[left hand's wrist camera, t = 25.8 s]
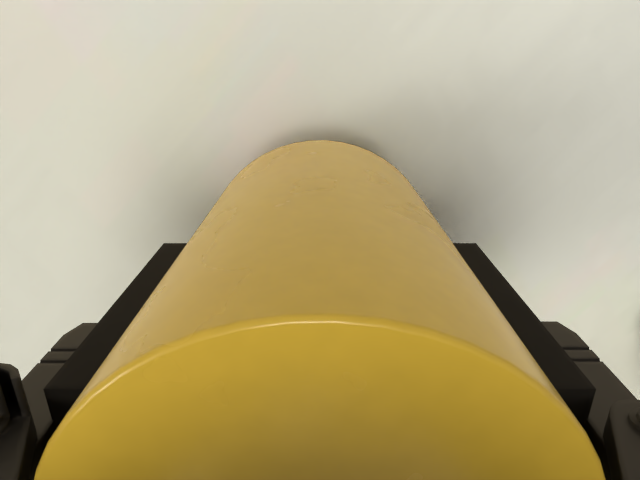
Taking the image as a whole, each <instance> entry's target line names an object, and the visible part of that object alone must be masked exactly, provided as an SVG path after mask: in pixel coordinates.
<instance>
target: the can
mask: <svg viewBox="0 0 640 480" xmlns="http://www.w3.org/2000/svg"><path fill="white" fill-rule="evenodd" d="M34 480H606V479H605V475H604V472H603V468H602V465H601V461H600V459H599V457H598V455H597V453H596V451H595V449H594V447H593V445H592V443H591V441H590V439H589V437H588V435H587V433H586V431H585V430H584V428H583V427H582V426H581V424H580V423H579V421H578V420H577V419H576V417H575V416H574V414H573V413H572V412H571V410H570V409H569V407H568V406H567V404H566V403H565V402H564V400H563V399H562V397H561V396H560V395H559V393H558V392H557V390H556V389H555V387H554V386H553V385H552V383H551V382H550V380H549V379H548V378H547V376H546V375H545V373H544V372H543V371H542V369H541V368H540V366H539V365H538V363H537V362H536V361H535V359H534V358H533V356H532V355H531V354H530V352H529V351H528V349H527V348H526V346H525V345H524V344H523V342H522V341H521V339H520V338H519V337H518V335H517V334H516V332H515V331H514V329H513V328H512V327H511V325H510V324H509V322H508V321H507V320H506V318H505V317H504V315H503V314H502V313H501V311H500V310H499V308H498V307H497V305H496V304H495V303H494V301H493V300H492V298H491V297H490V296H489V294H488V293H487V291H486V290H485V288H484V287H483V286H482V284H481V283H480V281H479V280H478V279H477V277H476V276H475V274H474V273H473V272H472V270H471V269H470V267H469V266H468V264H467V263H466V262H465V260H464V259H463V257H462V256H461V255H460V253H459V252H458V250H457V249H456V247H455V246H454V245H453V243H452V242H451V240H450V239H449V238H448V236H447V235H446V233H445V232H444V231H443V229H442V228H441V226H440V225H439V223H438V222H437V221H436V219H435V218H434V216H433V215H432V214H431V212H430V211H429V209H428V208H427V206H426V205H425V204H424V202H423V201H422V199H421V198H420V197H419V195H418V194H417V192H416V191H415V190H414V188H413V187H412V186H411V184H410V183H409V181H408V180H407V179H406V178H405V177H404V176H403V175H402V174H401V173H400V172H399V171H398V170H397V169H396V168H395V167H394V166H393V165H391V164H390V163H389V162H387V161H386V160H385V159H383V158H381V157H380V156H378V155H376V154H374V153H372V152H371V151H368V150H366V149H363V148H361V147H358V146H355V145H351V144H347V143H343V142H337V141H328V140H311V141H303V142H297V143H292V144H289V145H285V146H282V147H279V148H276V149H274V150H272V151H270V152H268V153H265V154H264V155H262V156H260V157H259V158H257V159H256V160H254V161H252V162H251V163H250V164H249V165H247V166H246V167H245V168H244V169H243V170H241V171H240V172H239V174H238V175H237V176H236V177H235V178H234V179H233V180H232V181H231V182H230V184H229V185H228V187H227V188H226V189H225V191H224V192H223V194H222V195H221V197H220V198H219V199H218V201H217V202H216V204H215V205H214V206H213V208H212V209H211V211H210V212H209V213H208V215H207V216H206V218H205V219H204V221H203V222H202V223H201V225H200V226H199V228H198V229H197V230H196V232H195V233H194V235H193V236H192V237H191V239H190V240H189V242H188V243H187V244H186V246H185V247H184V249H183V250H182V252H181V253H180V254H179V256H178V257H177V259H176V260H175V261H174V263H173V264H172V266H171V267H170V268H169V270H168V271H167V273H166V274H165V276H164V277H163V278H162V280H161V281H160V283H159V284H158V285H157V287H156V288H155V290H154V291H153V292H152V294H151V295H150V297H149V298H148V300H147V301H146V302H145V304H144V305H143V307H142V308H141V309H140V311H139V312H138V314H137V315H136V316H135V318H134V319H133V321H132V322H131V324H130V325H129V326H128V328H127V329H126V331H125V332H124V333H123V335H122V336H121V338H120V339H119V340H118V342H117V343H116V345H115V346H114V347H113V349H112V350H111V352H110V353H109V355H108V356H107V357H106V359H105V360H104V362H103V363H102V364H101V366H100V367H99V369H98V370H97V371H96V373H95V374H94V376H93V377H92V379H91V380H90V381H89V383H88V384H87V386H86V387H85V388H84V390H83V391H82V393H81V394H80V395H79V397H78V398H77V400H76V401H75V403H74V404H73V405H72V407H71V408H70V410H69V411H68V412H67V414H66V415H65V417H64V418H63V420H62V421H61V423H60V424H59V426H58V427H57V429H56V430H55V432H54V433H53V435H52V436H51V438H50V439H49V441H48V443H47V445H46V447H45V450H44V452H43V454H42V457H41V459H40V461H39V464H38V466H37V468H36V473H35V477H34Z"/></svg>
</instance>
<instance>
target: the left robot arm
mask: <svg viewBox="0 0 640 480" xmlns="http://www.w3.org/2000/svg"><path fill="white" fill-rule="evenodd" d="M186 244H187V243H164V244H163V245H162V246H161V248H160V249H159V250H158V251H157V252H156V254H155V255H154V256H153V257H152V258H151V260H150V261H149V262H148V263H147V264H146V266H145V267H144V268H143V269H142V270H141V272H140V273H139V274H138V275H137V277H136V278H135V279H134V280H133V281H132V283H131V284H130V285H129V286H128V287H127V289H126V290H125V291H124V292H123V293H122V295H121V296H120V297H119V298H118V299H117V301H116V302H115V303H114V304H113V306H112V307H111V308H110V309H109V310H108V312H107V313H106V314H105V315H104V316H103V318H102V319H101V320H100V321H99V322H98V323H82V324H81V325H79V326H77V327H76V328H74V329H73V330H71V331H69V332H68V333H66V334H65V335H63V336H62V337H61V339H60V340H59V341H58V342H57V343H56V344H55V345H54V346H53V347H52V348H51V352H48V353H47V354H46V355H45V356H44V357H43V358H42V359H41V362H40V363H38V364H37V365H36V366H35V367H34V368H33V369H32V370H31V371H30V372H29V373H28V375H27V376H26V377H25V378H24V379H23V380H22V381H21V377H20V374H19V371H18V369H17V368H15V367H14V366H12V365H11V364H3V363H0V480H34V477H35V473H36V468H37V466H38V464H39V461H40V459H41V457H42V454H43V452H44V450H45V447H46V445H47V443H48V441H49V439H50V438H51V436H52V435H53V433H54V432H55V430H56V429H57V427H58V426H59V424H60V423H61V421H62V420H63V418H64V417H65V415H66V414H67V412H68V411H69V410H70V408H71V407H72V405H73V404H74V403H75V401H76V400H77V398H78V397H79V395H80V394H81V393H82V391H83V390H84V388H85V387H86V386H87V384H88V383H89V381H90V380H91V379H92V377H93V376H94V374H95V373H96V371H97V370H98V369H99V367H100V366H101V364H102V363H103V362H104V360H105V359H106V357H107V356H108V355H109V353H110V352H111V350H112V349H113V347H114V346H115V345H116V343H117V342H118V340H119V339H120V338H121V336H122V335H123V333H124V332H125V331H126V329H127V328H128V326H129V325H130V324H131V322H132V321H133V319H134V318H135V316H136V315H137V314H138V312H139V311H140V309H141V308H142V307H143V305H144V304H145V302H146V301H147V300H148V298H149V297H150V295H151V294H152V292H153V291H154V290H155V288H156V287H157V285H158V284H159V283H160V281H161V280H162V278H163V277H164V276H165V274H166V273H167V271H168V270H169V268H170V267H171V266H172V264H173V263H174V261H175V260H176V259H177V257H178V256H179V254H180V253H181V252H182V250H183V249H184V247H185V246H186ZM453 245H454V246H455V247H456V249H457V250H458V252H459V253H460V255H461V256H462V257H463V259H464V260H465V262H466V263H467V264H468V266H469V267H470V269H471V270H472V272H473V273H474V274H475V276H476V277H477V279H478V280H479V281H480V283H481V284H482V286H483V287H484V288H485V290H486V291H487V293H488V294H489V296H490V297H491V298H492V300H493V301H494V303H495V304H496V305H497V307H498V308H499V310H500V311H501V313H502V314H503V315H504V317H505V318H506V320H507V321H508V322H509V324H510V325H511V327H512V328H513V329H514V331H515V332H516V334H517V335H518V337H519V338H520V339H521V341H522V342H523V344H524V345H525V346H526V348H527V349H528V351H529V352H530V354H531V355H532V356H533V358H534V359H535V361H536V362H537V363H538V365H539V366H540V368H541V369H542V371H543V372H544V373H545V375H546V376H547V378H548V379H549V380H550V382H551V383H552V385H553V386H554V387H555V389H556V390H557V392H558V393H559V395H560V396H561V397H562V399H563V400H564V402H565V403H566V404H567V406H568V407H569V409H570V410H571V412H572V413H573V414H574V416H575V417H576V419H577V420H578V421H579V423H580V424H581V426H582V427H583V428H584V430H585V431H586V433H587V435H588V437H589V439H590V441H591V443H592V445H593V447H594V449H595V451H596V453H597V455H598V457H599V459H600V461H601V465H602V468H603V472H604V475H605V479H606V480H640V400H637V399H636V398H635V397H634V396H633V394H632V393H631V392H630V391H629V390H628V389H627V388H626V387H625V386H624V385H623V384H622V383H621V381H620V380H619V379H618V378H617V377H616V376H615V375H614V374H613V373H612V372H611V371H610V370H609V368H608V367H607V366H606V365H605V364H604V363H603V362H600V359H599V358H598V356H597V355H596V354H595V353H594V352H593V351H592V350H589V347H588V346H587V345H586V343H585V342H584V341H583V340H582V339H581V338H580V337H579V336H578V335H577V334H576V333H575V332H573V331H571V330H570V329H568V328H567V327H565V326H563V325H562V324H560V323H558V322H540V320H539V319H538V318H537V317H536V316H535V314H534V313H533V312H532V311H531V310H530V308H529V307H528V306H527V305H526V303H525V302H524V301H523V300H522V299H521V297H520V296H519V295H518V294H517V293H516V291H515V290H514V289H513V288H512V287H511V285H510V284H509V283H508V282H507V281H506V279H505V278H504V277H503V276H502V274H501V273H500V272H499V271H498V270H497V268H496V267H495V266H494V265H493V264H492V262H491V261H490V260H489V259H488V258H487V256H486V255H485V254H484V253H483V252H482V250H481V249H480V248H479V247H478V245H477V244H476V243H453Z"/></svg>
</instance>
